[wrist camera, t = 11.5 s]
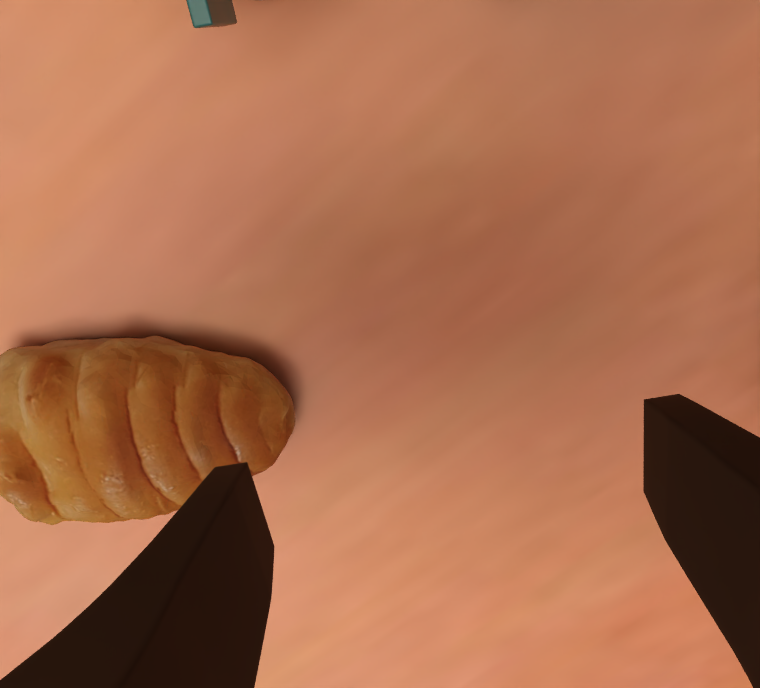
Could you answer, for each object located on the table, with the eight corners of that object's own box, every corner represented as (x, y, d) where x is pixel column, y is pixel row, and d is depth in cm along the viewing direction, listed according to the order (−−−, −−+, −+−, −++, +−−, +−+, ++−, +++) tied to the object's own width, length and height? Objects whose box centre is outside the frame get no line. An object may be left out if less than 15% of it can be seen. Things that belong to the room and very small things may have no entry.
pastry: (276, 301, 22) (260, 356, 18) (312, 467, 25) (304, 541, 21) (-4, 337, 22) (-71, 397, 19) (66, 496, 25) (19, 573, 22)
